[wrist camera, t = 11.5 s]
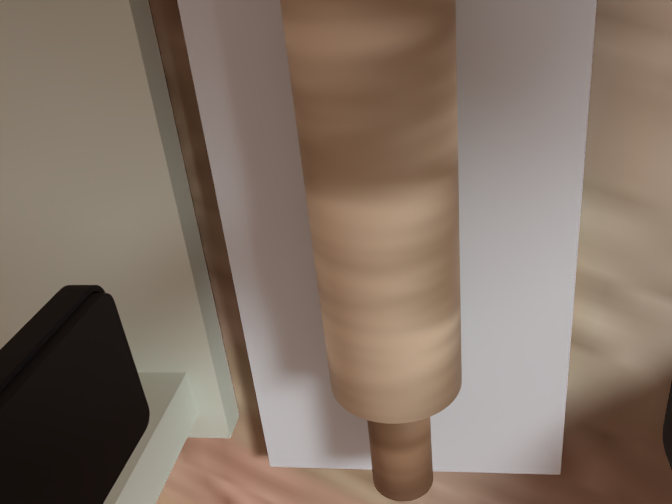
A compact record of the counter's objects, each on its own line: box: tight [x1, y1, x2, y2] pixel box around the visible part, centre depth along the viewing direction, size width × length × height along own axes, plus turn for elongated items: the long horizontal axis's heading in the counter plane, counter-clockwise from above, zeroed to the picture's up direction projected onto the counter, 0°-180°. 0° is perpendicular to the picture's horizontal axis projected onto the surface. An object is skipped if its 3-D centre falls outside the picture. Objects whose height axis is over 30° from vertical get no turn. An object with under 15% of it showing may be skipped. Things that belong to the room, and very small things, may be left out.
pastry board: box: [177, 0, 597, 475], centre depth 23 cm, size 13×30×1 cm, turn 6°
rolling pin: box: [280, 0, 462, 501], centre depth 20 cm, size 26×5×5 cm, turn 6°
